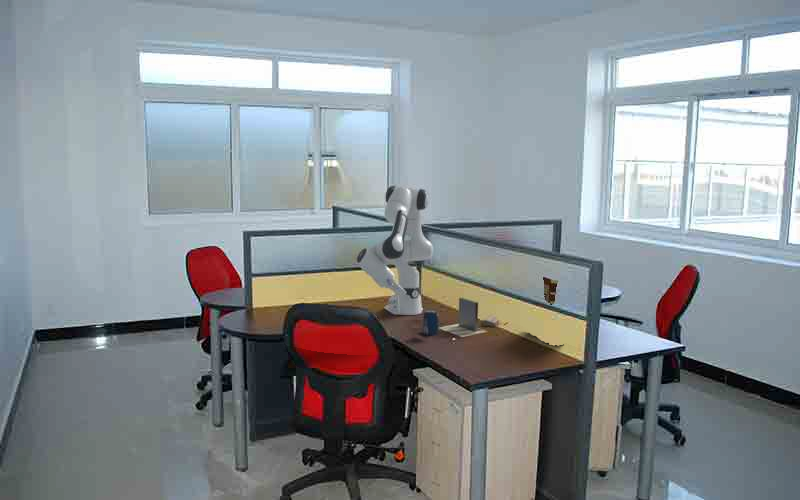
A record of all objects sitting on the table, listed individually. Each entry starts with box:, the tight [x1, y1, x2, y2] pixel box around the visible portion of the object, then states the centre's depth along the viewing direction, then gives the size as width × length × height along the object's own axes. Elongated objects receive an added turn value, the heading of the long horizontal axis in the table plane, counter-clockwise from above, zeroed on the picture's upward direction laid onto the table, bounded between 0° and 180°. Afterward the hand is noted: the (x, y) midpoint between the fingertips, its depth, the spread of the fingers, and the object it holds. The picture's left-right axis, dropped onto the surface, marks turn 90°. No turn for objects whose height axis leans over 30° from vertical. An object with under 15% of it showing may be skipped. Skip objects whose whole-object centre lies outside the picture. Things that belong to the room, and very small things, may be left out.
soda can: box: [422, 309, 439, 336], centre depth 294 cm, size 7×7×12 cm
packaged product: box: [481, 315, 500, 328], centre depth 314 cm, size 18×5×10 cm
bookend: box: [458, 297, 483, 332], centre depth 302 cm, size 12×4×14 cm, turn 35°
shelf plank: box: [438, 323, 488, 338], centre depth 301 cm, size 18×16×2 cm
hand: (406, 298), depth 289 cm, fingers open, 8 cm apart
